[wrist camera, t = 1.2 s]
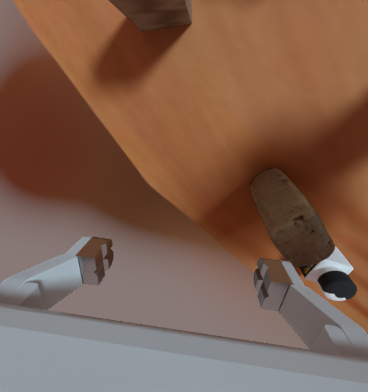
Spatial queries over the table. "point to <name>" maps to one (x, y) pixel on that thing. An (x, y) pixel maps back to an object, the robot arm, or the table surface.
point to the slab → (155, 12)
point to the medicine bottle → (332, 276)
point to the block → (290, 219)
